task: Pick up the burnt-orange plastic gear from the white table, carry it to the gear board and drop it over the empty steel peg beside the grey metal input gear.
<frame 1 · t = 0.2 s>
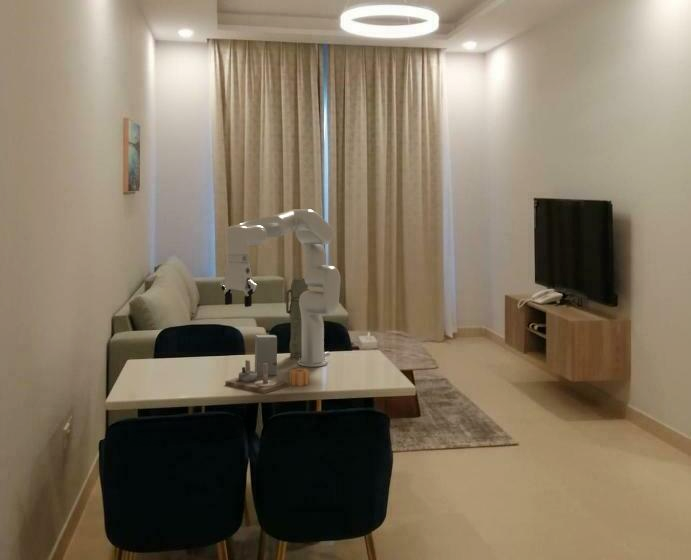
hand: (238, 305, 256), 31 cm above the table, fingers open, 9 cm apart
loose gear: (299, 383, 263), on the table
gear board: (256, 385, 260), on the table
thermos: (299, 357, 309), on the table
skincare box: (266, 374, 278), on the table
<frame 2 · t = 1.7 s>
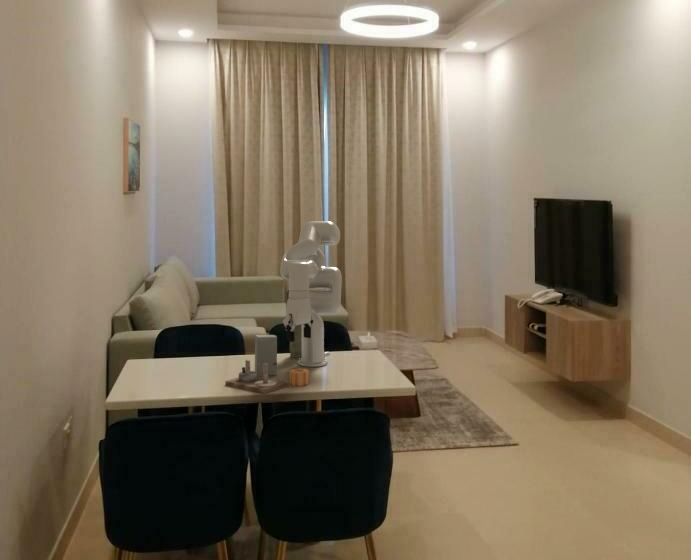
hand: (299, 339, 261), 17 cm above the table, fingers open, 9 cm apart
nothing on the table moved.
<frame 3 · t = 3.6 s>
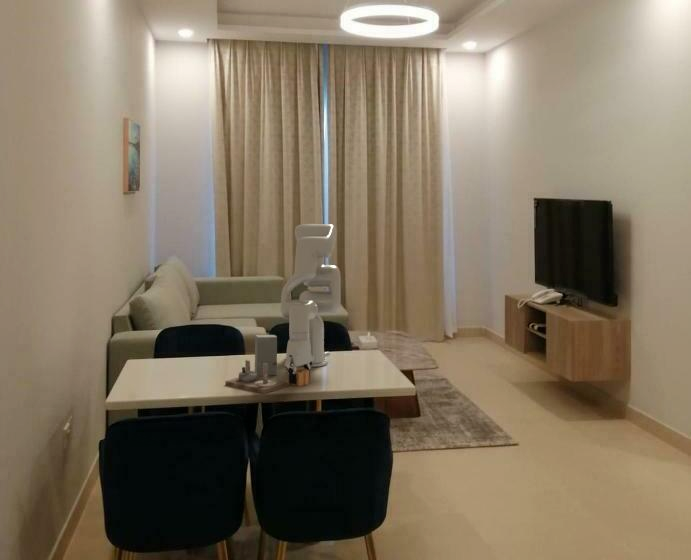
hand: (299, 381, 263), 1 cm above the table, fingers closed on loose gear, 7 cm apart
loose gear: (299, 383, 263), on the table, touching gripper
everything else where it was.
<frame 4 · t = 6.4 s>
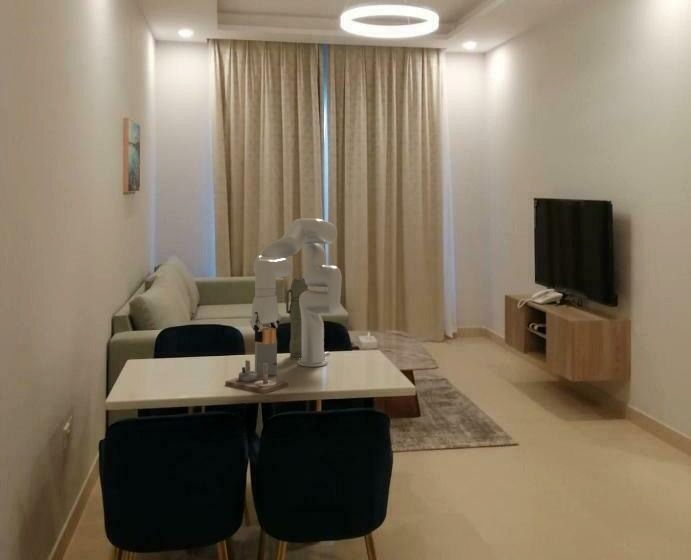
hand: (265, 339, 256), 18 cm above the table, fingers closed on loose gear, 7 cm apart
loose gear: (266, 342, 256), point 17 cm above the table, touching gripper
everything else where it was.
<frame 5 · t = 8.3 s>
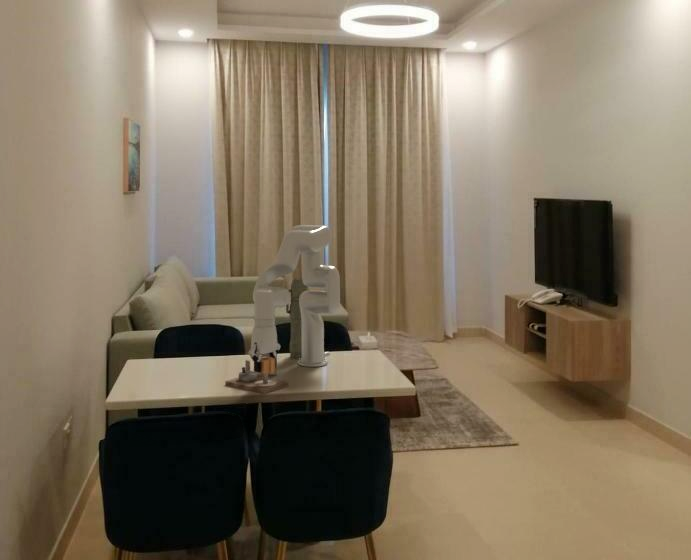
hand: (265, 369, 257), 7 cm above the table, fingers closed on loose gear, 7 cm apart
loose gear: (265, 371, 257), point 6 cm above the table, touching gripper
everything else where it was.
when the fingers open (4 cm above the table, at t = 9.5 s): loose gear drops 1 cm, resting on gear board.
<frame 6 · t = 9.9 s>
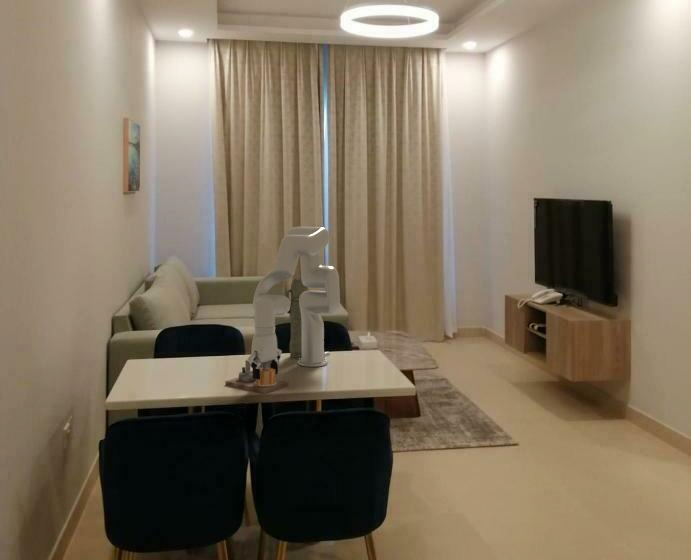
hand: (265, 376, 257), 4 cm above the table, fingers open, 9 cm apart
loose gear: (265, 382, 257), point 2 cm above the table, touching gear board
everything else where it was.
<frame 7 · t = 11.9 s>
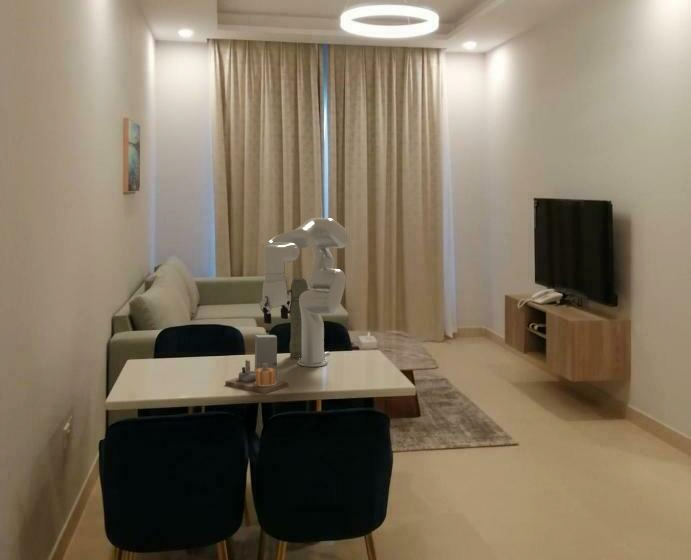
hand: (276, 320, 266), 23 cm above the table, fingers open, 9 cm apart
nothing on the table moved.
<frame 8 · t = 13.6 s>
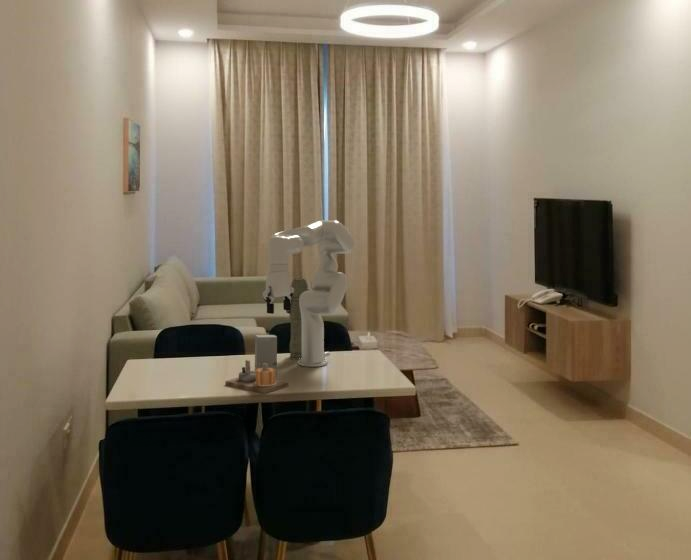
hand: (278, 311, 269), 26 cm above the table, fingers open, 9 cm apart
nothing on the table moved.
at the end: loose gear 0.0 cm from the target spot on the gear board, point 1.7 cm above the gear board's base; loose gear tilted 0°; the gripper is holding nothing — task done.
